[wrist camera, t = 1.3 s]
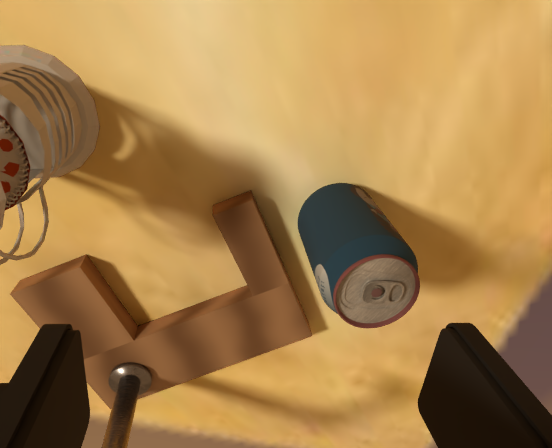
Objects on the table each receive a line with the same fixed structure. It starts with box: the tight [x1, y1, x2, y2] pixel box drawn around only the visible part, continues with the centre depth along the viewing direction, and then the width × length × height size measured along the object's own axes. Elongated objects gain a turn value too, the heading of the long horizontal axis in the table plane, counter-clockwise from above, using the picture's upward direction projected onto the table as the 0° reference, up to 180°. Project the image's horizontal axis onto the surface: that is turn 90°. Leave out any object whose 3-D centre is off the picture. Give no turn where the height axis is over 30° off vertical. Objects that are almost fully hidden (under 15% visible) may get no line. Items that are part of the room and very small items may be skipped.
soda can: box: [298, 183, 420, 328], centre depth 32 cm, size 7×7×12 cm
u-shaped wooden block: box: [10, 191, 312, 409], centre depth 39 cm, size 22×16×2 cm
